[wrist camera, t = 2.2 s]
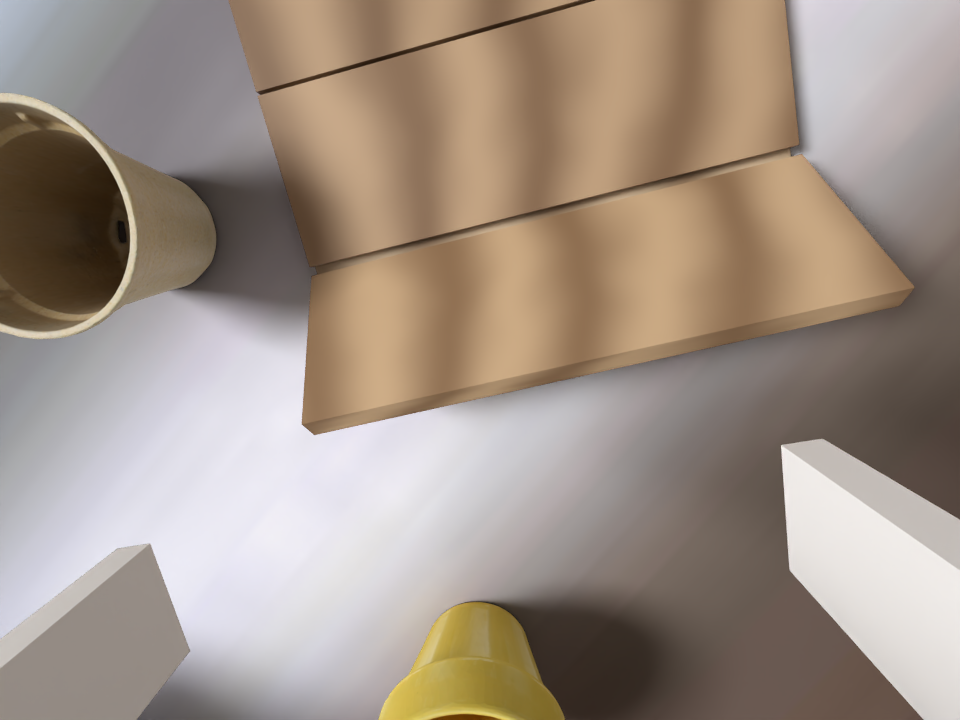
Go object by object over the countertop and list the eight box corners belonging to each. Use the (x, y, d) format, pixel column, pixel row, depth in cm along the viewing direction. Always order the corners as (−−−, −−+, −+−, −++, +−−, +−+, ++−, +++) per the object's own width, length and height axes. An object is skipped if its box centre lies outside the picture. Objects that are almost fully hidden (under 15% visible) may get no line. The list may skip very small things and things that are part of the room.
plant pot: (399, 570, 32) (357, 705, 22) (559, 577, 32) (586, 717, 22) (399, 702, 34) (362, 877, 25) (549, 710, 34) (570, 890, 24)
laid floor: (321, 278, 28) (313, 279, 27) (210, -89, 24) (196, -106, 23) (787, 163, 26) (800, 159, 25) (742, -258, 22) (756, -286, 21)
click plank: (314, 434, 23) (301, 424, 22) (321, 290, 28) (311, 276, 27) (899, 305, 21) (915, 287, 20) (793, 174, 26) (802, 154, 25)
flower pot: (50, 184, 28) (-148, 153, 19) (195, 113, 26) (54, 48, 18) (135, 338, 29) (-12, 372, 21) (274, 277, 28) (180, 288, 20)
